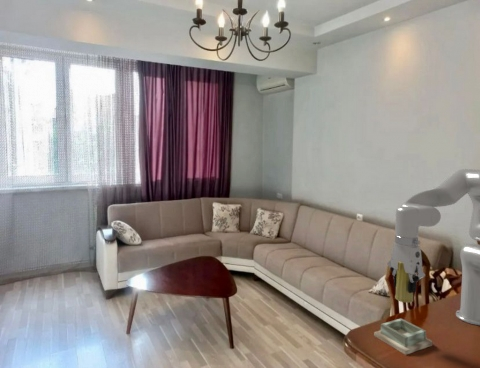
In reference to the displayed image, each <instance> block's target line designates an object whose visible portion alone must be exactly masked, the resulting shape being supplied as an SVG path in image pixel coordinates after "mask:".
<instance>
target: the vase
mask: <svg viewBox="0 0 480 368" xmlns="http://www.w3.org/2000/svg"><path fill="white" fill-rule="evenodd" d="M409 282H410V278H409V274H408V273H406V272H405V270H404V264H403V263H401V262H398V270H397V279H396V287H395V295H394V299H395V300H397V301H398V302H401V303H413V302H414V292H413V293H409V292H408V283H409Z"/></svg>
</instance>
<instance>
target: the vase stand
mask: <svg viewBox="0 0 480 368" xmlns="http://www.w3.org/2000/svg"><path fill="white" fill-rule="evenodd" d="M373 336H374V337H375V338H377V339H379V340H381V341H382V342H384V344H385V343H386V344H387V345H388V346H390V347H392V348H393V349H395V350H397V351H398V352H400V353H401V354H403V355H405V356H407V355H409V354H412V353H416V352H417V351H420V350H423V349H424V350H425V349H426V348H429V347H432V346H433V345H434V341H433V340H431V339H429V338H427V330H425V329H423V328H421V327H419V326H417V325H415V324H413V323H411V322H410V321H407V320H406V319H403V318H397V319H394V320H391V321H387V322H383V323H381V324H380V329H379V330H377V331H374V332H373Z"/></svg>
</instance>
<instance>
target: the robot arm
mask: <svg viewBox="0 0 480 368" xmlns="http://www.w3.org/2000/svg"><path fill="white" fill-rule="evenodd" d="M467 194H468V196H469V198H470V201H471V202H472V203H471V204H472V213H471V218H470V222H469V223H470V224H469V229H468V230H469V231H468V233H469V237H470V239H472V240H475V241H477V242H480V169H474V168H473V169H468V168H467V169H466V168H465V169H464V168H463V169H458V170H457V171H455V172H454V173H453V174H452V175H451V176H448V178H447V179H446V180H444V181H443V182H442V183H441V184H439V185H438V186H435V187H433V188H429V189H426V190H424V191H421V192H418V193H415V194H414V195H412V196H411V197H409V198H408V199H407V200H405V201H404V202H403V203H402V205H401V206H397V208H396V209H395V224H394V225H395V230H394V231H395V232H394V242H393V245H392V247H391V248H392V249H391V253H390V254H391V255H390V257H391V258H390V260H389V261H388V262H387V267H389V269H390V271H391V273H392V276H393V287H395V288H396V279H397V270H398V262H401V263H403V264H404V270H405V272H406V273H408V274H409V278H410V282H409V283H408V292H409V293H413V294H414V293H415V292H416V291H417V282H419V281H420V280H421V279H423V278H424V277H426V274H425V273H424V271H423V257H422V250H421V246H419V245H420V244H421V240H419V228H420V227H427V228H429V227H435V226H437V224H438V223H440V221H441V218H442V217H441V215H442V214H441V212H440V211H439V209H438V208H440V207H446V206H451V205H455V204H456V203H457V202H458V201H460V200H461V199H462V198H463V197H464V196H465V195H467ZM459 254H460V257H459V258H460V262H461V269H462V270H461V271H462V272H461V291H460V308H459V310H458V309H457V310H456V312H455V316H456V318H458V319H459V320H460V321H462V322H465V323H467V324H470V325H474V326H480V244H478V243H468V244H464V245H463V246H462V247H461V249H460V253H459Z"/></svg>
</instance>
